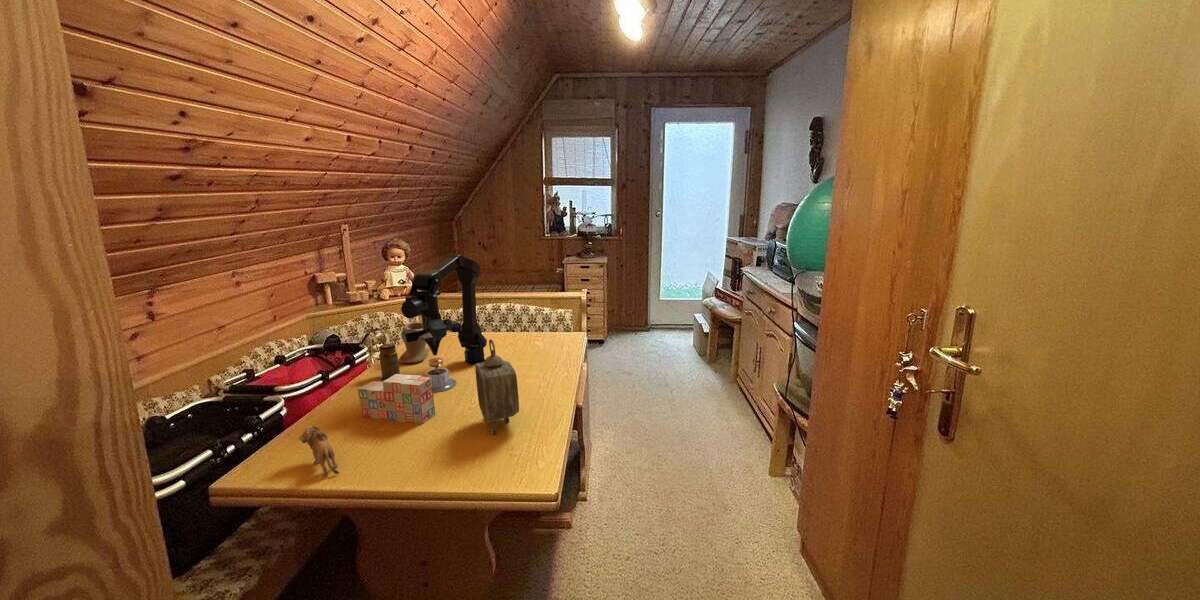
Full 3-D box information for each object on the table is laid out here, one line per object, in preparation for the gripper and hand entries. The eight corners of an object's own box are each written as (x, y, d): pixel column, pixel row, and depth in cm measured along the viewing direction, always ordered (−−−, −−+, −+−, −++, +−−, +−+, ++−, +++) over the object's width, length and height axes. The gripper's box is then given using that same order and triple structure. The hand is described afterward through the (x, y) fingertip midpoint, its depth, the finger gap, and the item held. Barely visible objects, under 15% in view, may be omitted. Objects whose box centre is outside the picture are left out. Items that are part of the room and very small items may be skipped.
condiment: (398, 371, 179) (394, 341, 176) (405, 377, 173) (401, 346, 170) (377, 376, 175) (373, 345, 172) (384, 383, 168) (379, 351, 165)
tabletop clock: (479, 416, 140) (471, 335, 135) (510, 410, 144) (503, 331, 138) (488, 439, 127) (480, 350, 122) (521, 431, 131) (515, 344, 125)
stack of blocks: (361, 417, 143) (355, 379, 140) (376, 408, 148) (370, 371, 146) (423, 424, 137) (418, 384, 134) (436, 414, 143) (431, 376, 140)
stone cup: (427, 364, 186) (422, 327, 182) (395, 365, 185) (391, 328, 182) (437, 351, 200) (433, 317, 197) (408, 353, 200) (404, 318, 196)
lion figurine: (301, 461, 120) (294, 428, 118) (323, 451, 124) (317, 420, 122) (327, 480, 111) (321, 445, 109) (350, 470, 115) (345, 436, 113)
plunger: (442, 378, 167) (439, 356, 166) (447, 382, 164) (445, 360, 162) (428, 382, 164) (426, 359, 163) (433, 386, 161) (431, 363, 159)
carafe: (444, 378, 169) (443, 366, 168) (453, 384, 164) (451, 372, 163) (415, 386, 163) (414, 373, 162) (423, 393, 157) (421, 380, 156)
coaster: (448, 376, 173) (448, 375, 172) (462, 385, 163) (461, 384, 163) (415, 385, 165) (415, 384, 165) (427, 395, 156) (427, 394, 156)
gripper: (408, 320, 147) (414, 368, 150) (466, 310, 158) (470, 354, 161) (398, 314, 155) (404, 359, 159) (453, 304, 166) (457, 346, 170)
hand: (435, 355), depth 162 cm, fingers closed
